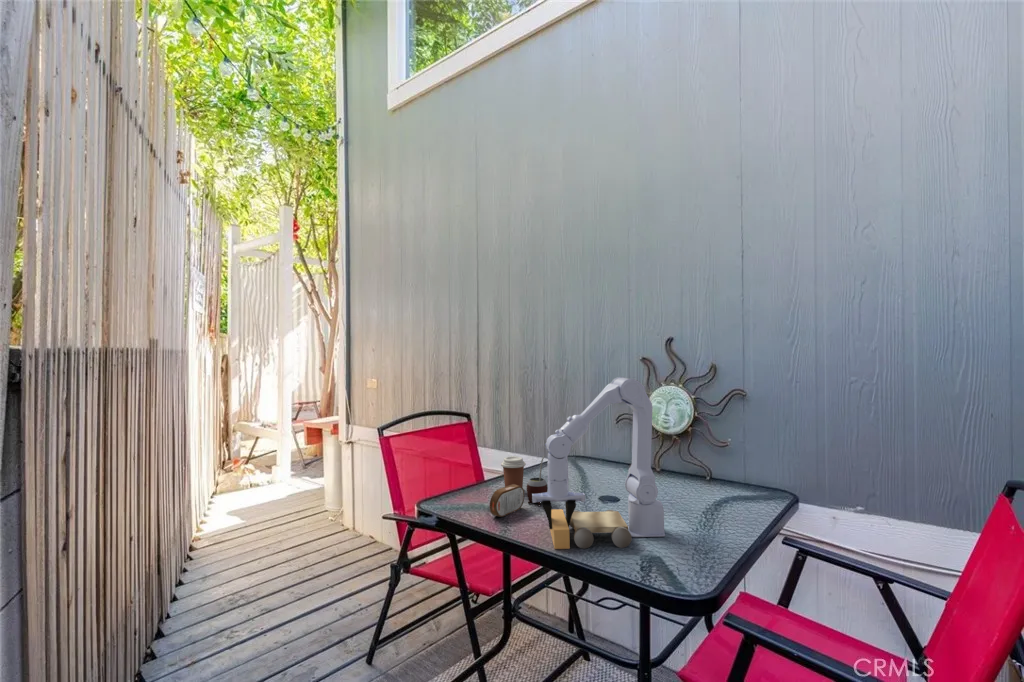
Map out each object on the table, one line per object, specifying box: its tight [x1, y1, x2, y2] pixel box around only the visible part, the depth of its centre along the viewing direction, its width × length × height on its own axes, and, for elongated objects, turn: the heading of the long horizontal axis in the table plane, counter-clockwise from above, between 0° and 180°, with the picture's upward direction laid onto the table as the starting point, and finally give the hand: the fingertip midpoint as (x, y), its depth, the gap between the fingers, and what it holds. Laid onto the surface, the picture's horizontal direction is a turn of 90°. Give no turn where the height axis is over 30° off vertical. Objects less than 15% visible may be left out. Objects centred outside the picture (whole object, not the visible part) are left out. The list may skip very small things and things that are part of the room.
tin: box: [489, 484, 525, 518], centre depth 156 cm, size 15×3×8 cm, turn 141°
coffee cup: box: [500, 455, 527, 489], centre depth 180 cm, size 9×9×12 cm
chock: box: [549, 508, 571, 550], centre depth 136 cm, size 4×16×5 cm, turn 0°
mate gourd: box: [526, 455, 548, 506], centre depth 166 cm, size 8×8×15 cm
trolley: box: [569, 509, 633, 550], centre depth 135 cm, size 15×15×5 cm
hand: (558, 527), depth 135 cm, fingers closed on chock, 4 cm apart
